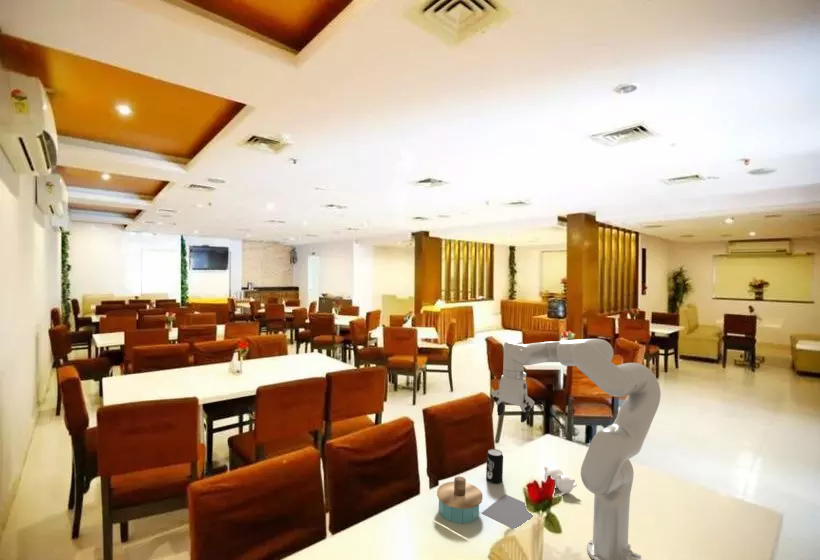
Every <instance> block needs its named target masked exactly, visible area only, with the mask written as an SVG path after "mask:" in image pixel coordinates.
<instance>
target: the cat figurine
mask: <svg viewBox="0 0 820 560" xmlns="http://www.w3.org/2000/svg"><path fill="white" fill-rule="evenodd" d="M543 468H544V480H546V477H547V476H548V475H551V476H552V478H554V479H555V480H556V488H555V489H558V490H559V491H560V492H559V493H558V494H557V493H556V494H555V497H559V496H558V495H561V496H563V495H565V494H569V493H571V492H572V490H573V489H574V488H577V486H578V483H575V482H576V479H575V478H574V479H572V477H571V476H569V475H568V474H564V472H563V470H562V469H560V467H556V466H552V467H548V466H547V465H546V466H544V467H543Z"/></svg>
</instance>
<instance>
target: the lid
mask: <svg viewBox="0 0 820 560" xmlns="http://www.w3.org/2000/svg"><path fill="white" fill-rule="evenodd" d="M436 496H437V498H438V501H439V500H440V501H441V502H442V503H444V504H446V505H448V506H450V507H453V508H459V509H468V508H473V507H476V506H478V505H479V506H480V504H481V503H483V502H482V501H483V492H482V490H480V489H479V488H478V487H477V486H476V485H473V484H471V483H469V482H467V479H466V478H465V477H464V476H455V477H454V481H448V482H445V483H443V484H441V485H439V486H438V488H437V492H436Z"/></svg>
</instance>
